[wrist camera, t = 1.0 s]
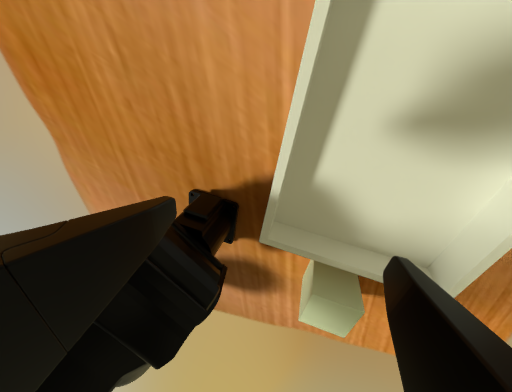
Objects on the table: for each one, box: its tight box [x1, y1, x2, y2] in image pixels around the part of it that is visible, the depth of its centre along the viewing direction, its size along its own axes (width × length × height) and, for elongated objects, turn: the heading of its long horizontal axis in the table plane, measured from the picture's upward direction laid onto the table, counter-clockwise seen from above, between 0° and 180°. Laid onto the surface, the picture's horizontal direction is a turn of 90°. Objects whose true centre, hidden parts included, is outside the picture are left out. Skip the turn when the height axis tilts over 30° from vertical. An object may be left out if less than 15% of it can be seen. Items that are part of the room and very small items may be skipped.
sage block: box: [298, 259, 365, 338], centre depth 23 cm, size 5×5×6 cm
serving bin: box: [259, 0, 512, 298], centre depth 16 cm, size 22×18×4 cm
